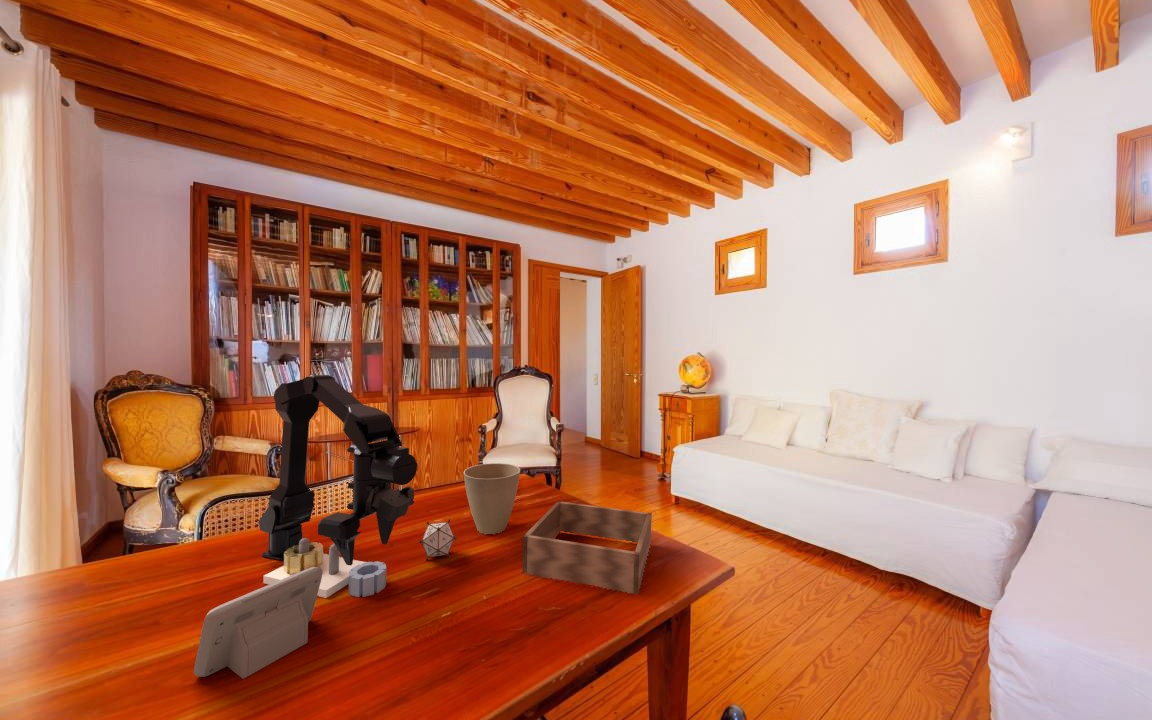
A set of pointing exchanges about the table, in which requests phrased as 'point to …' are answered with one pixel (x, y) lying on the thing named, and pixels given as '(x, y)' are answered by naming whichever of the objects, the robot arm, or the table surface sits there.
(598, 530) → the open rectangular box frame
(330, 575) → the gear board
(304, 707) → the table surface
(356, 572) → the slate gear
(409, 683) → the table surface
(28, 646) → the table surface
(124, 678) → the table surface
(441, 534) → the game die
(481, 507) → the plant pot
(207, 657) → the digital clock
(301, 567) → the brass gear
